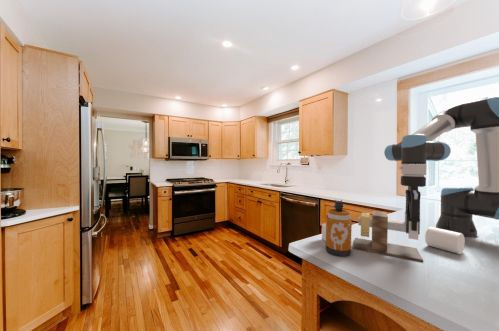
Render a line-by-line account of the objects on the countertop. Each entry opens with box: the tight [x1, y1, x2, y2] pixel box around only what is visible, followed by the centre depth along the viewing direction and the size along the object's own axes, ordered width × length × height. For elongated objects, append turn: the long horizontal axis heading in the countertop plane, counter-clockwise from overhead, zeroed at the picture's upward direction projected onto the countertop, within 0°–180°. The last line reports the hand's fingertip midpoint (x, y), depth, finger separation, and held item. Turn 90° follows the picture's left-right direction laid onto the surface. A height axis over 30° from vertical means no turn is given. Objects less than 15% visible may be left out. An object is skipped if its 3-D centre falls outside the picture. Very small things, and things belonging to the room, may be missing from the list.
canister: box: [325, 199, 353, 257], centre depth 81 cm, size 9×11×20 cm
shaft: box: [357, 211, 421, 235], centre depth 84 cm, size 20×4×7 cm, turn 60°
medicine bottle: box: [321, 213, 328, 242], centre depth 92 cm, size 7×7×12 cm
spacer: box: [360, 212, 371, 238], centre depth 87 cm, size 3×8×8 cm, turn 150°
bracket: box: [352, 210, 424, 262], centre depth 84 cm, size 22×12×14 cm, turn 60°
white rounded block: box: [424, 226, 466, 255], centre depth 86 cm, size 12×10×8 cm
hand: (411, 236), depth 80 cm, fingers open, 6 cm apart
